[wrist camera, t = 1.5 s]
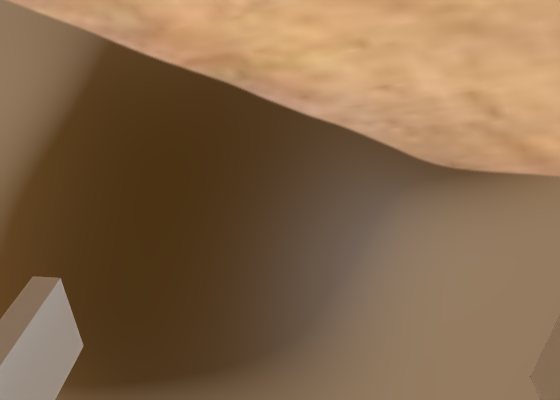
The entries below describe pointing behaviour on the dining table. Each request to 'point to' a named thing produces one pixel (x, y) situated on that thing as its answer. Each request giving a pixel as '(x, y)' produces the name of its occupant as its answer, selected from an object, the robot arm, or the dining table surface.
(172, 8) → the dining table surface
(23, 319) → the robot arm
